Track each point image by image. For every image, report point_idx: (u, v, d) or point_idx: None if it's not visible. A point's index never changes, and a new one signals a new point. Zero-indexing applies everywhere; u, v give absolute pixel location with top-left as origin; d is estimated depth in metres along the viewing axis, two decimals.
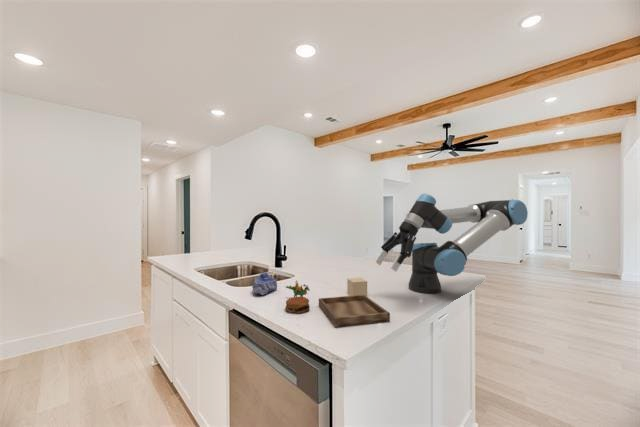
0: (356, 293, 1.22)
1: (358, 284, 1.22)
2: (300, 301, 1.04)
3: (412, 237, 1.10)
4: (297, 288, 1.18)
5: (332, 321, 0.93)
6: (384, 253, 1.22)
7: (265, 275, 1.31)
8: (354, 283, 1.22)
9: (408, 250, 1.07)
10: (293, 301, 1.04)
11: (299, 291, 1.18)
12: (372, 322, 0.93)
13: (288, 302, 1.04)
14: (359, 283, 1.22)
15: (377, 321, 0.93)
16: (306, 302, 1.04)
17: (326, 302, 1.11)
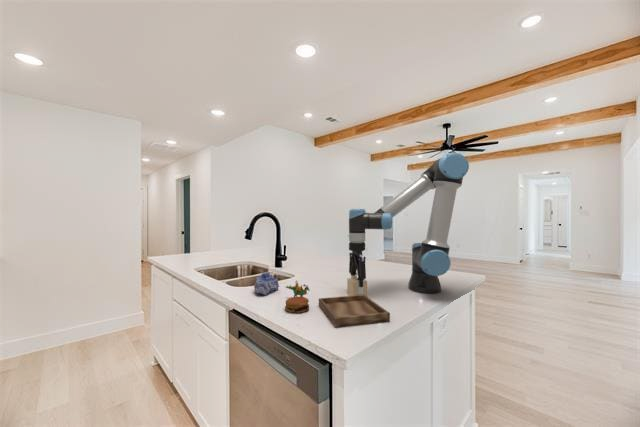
0: (356, 293, 1.22)
1: None
2: (300, 301, 1.04)
3: (361, 259, 1.19)
4: (297, 288, 1.18)
5: (332, 321, 0.93)
6: (354, 277, 1.29)
7: (267, 275, 1.32)
8: (354, 283, 1.22)
9: (362, 274, 1.19)
10: (293, 301, 1.04)
11: (299, 291, 1.18)
12: (372, 322, 0.93)
13: (288, 302, 1.04)
14: None
15: (377, 321, 0.93)
16: (305, 302, 1.04)
17: (326, 302, 1.11)
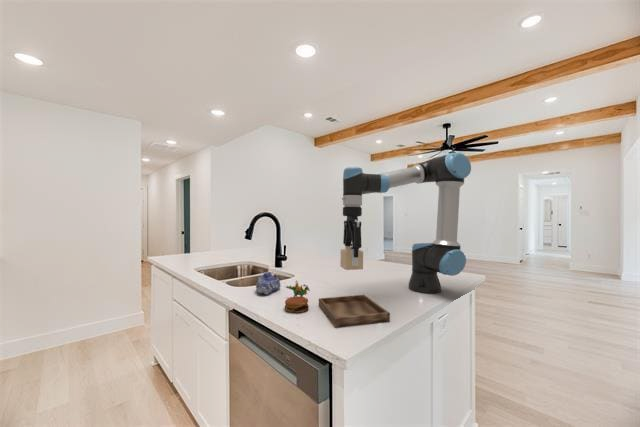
0: (350, 265, 1.04)
1: None
2: (299, 301, 1.04)
3: (357, 225, 1.02)
4: (297, 288, 1.18)
5: (332, 321, 0.93)
6: None
7: (268, 275, 1.32)
8: (348, 253, 1.04)
9: (357, 242, 1.01)
10: (292, 301, 1.04)
11: (299, 291, 1.18)
12: (372, 322, 0.93)
13: (287, 302, 1.04)
14: None
15: (377, 321, 0.93)
16: (305, 302, 1.05)
17: (326, 302, 1.11)
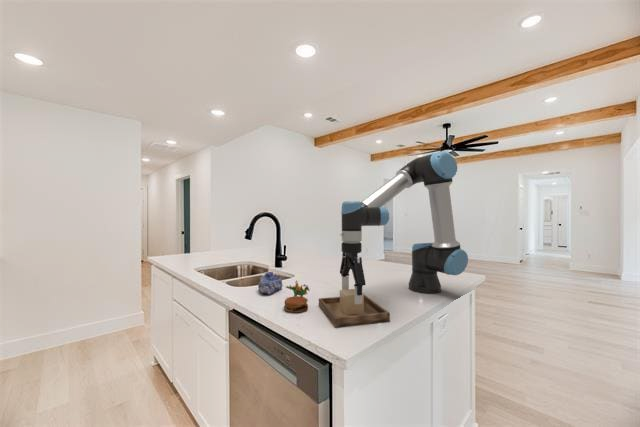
0: (350, 309, 0.99)
1: (352, 298, 0.99)
2: (298, 301, 1.04)
3: (357, 260, 0.96)
4: (297, 288, 1.18)
5: (332, 321, 0.93)
6: (345, 279, 1.09)
7: (270, 274, 1.33)
8: (347, 296, 0.99)
9: (360, 279, 0.93)
10: (291, 301, 1.04)
11: (299, 291, 1.18)
12: (372, 322, 0.93)
13: (286, 301, 1.04)
14: (354, 296, 0.99)
15: (377, 321, 0.93)
16: (304, 302, 1.05)
17: (326, 302, 1.11)
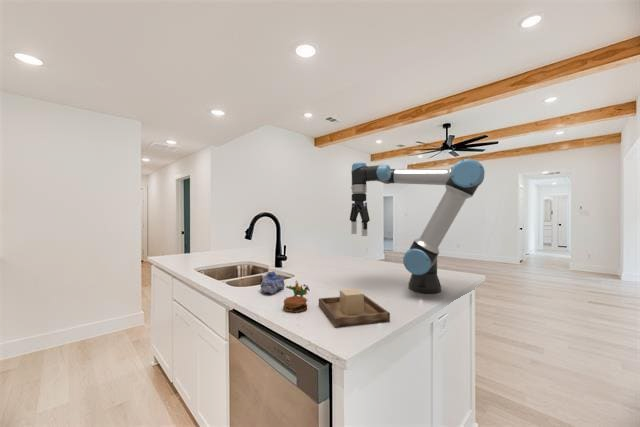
0: (350, 309, 0.99)
1: (352, 298, 0.99)
2: (297, 300, 1.04)
3: (363, 204, 1.32)
4: (297, 288, 1.18)
5: (332, 321, 0.93)
6: (354, 223, 1.45)
7: (273, 274, 1.33)
8: (347, 296, 0.99)
9: (365, 216, 1.30)
10: (291, 300, 1.04)
11: (299, 291, 1.18)
12: (372, 322, 0.93)
13: (286, 301, 1.05)
14: (354, 296, 0.99)
15: (377, 321, 0.93)
16: (303, 301, 1.05)
17: (326, 302, 1.11)
